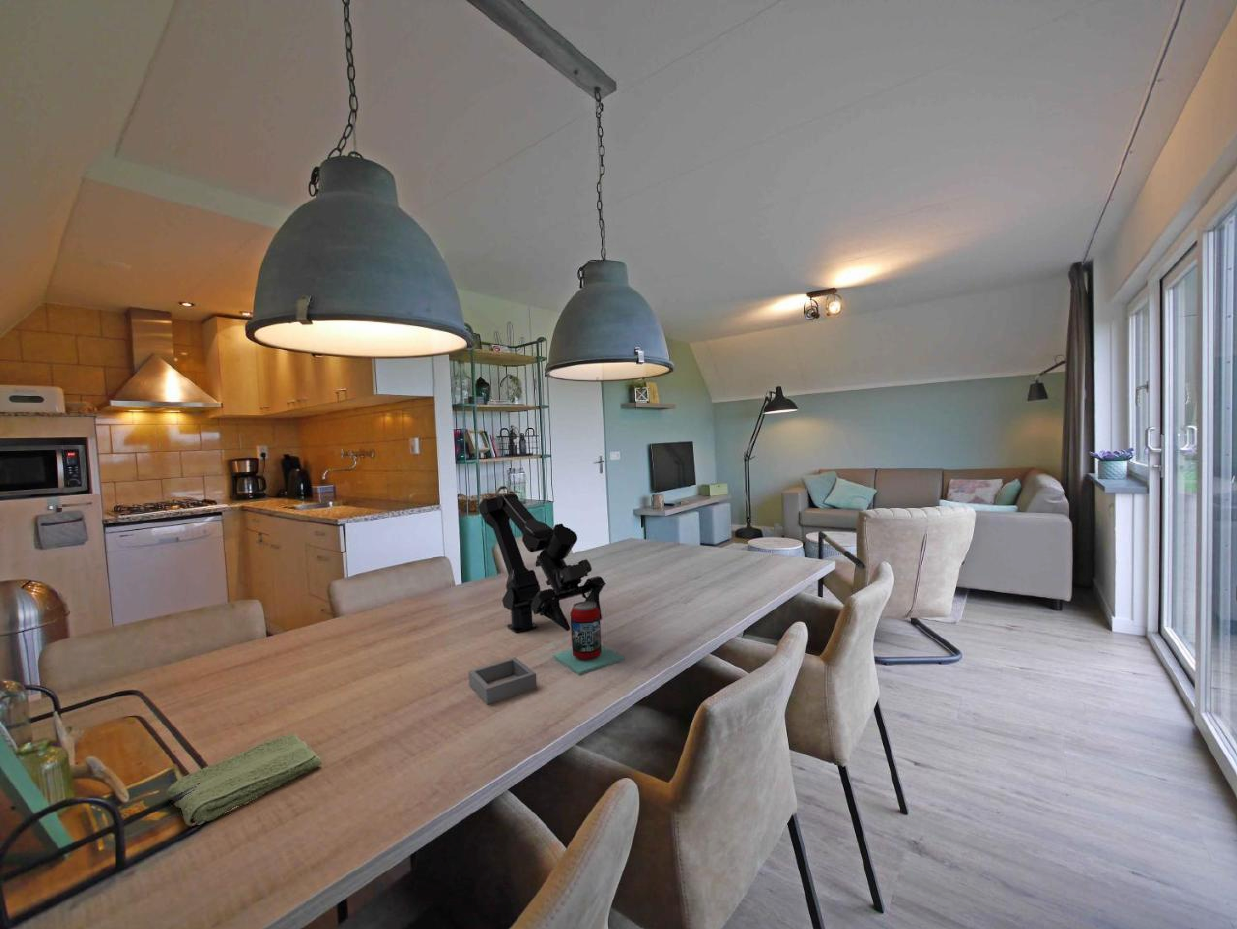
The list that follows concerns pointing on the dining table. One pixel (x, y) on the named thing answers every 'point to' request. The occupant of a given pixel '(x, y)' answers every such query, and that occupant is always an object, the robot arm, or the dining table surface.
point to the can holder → (505, 688)
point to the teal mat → (588, 665)
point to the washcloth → (243, 777)
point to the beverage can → (586, 630)
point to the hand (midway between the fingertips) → (585, 624)
